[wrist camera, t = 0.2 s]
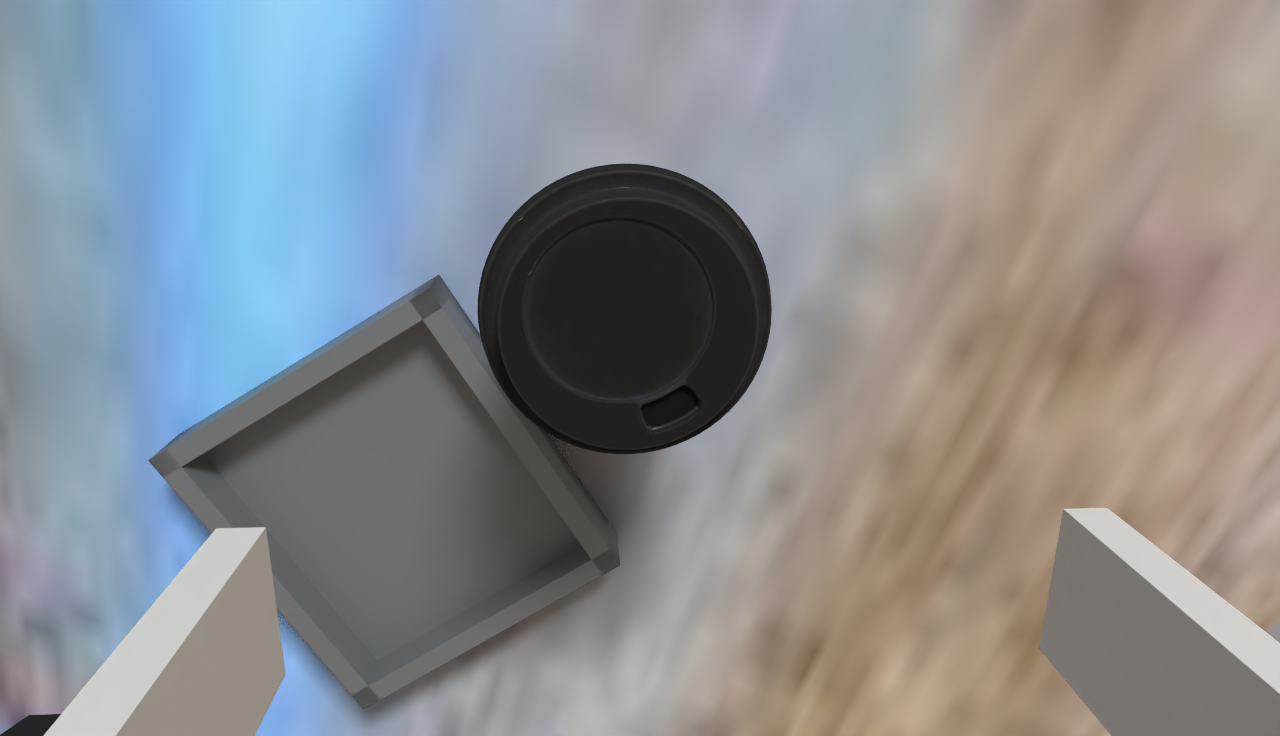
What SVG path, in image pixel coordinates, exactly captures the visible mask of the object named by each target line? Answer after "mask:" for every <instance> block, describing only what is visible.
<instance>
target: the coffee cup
mask: <svg viewBox="0 0 1280 736" xmlns="http://www.w3.org/2000/svg"><path fill="white" fill-rule="evenodd" d="M771 310H772V309H771V294H770V286H769V279H768V275H767V270H766V266H765V263H764V260H763V257H762V254H761V252H760V250H759V248H758V245H757V243H756V241H755V240H754V238H753V236H752V234H751V232H750V231H749V229H748V228H747V226H746V225H745V224H744V222H743V221H742V219H741V218H740V217H739V216H738V215H737V213H736V212H735V211H734V210H733V209H732V208H731V207H730V206H729V205H728V204H727V203H726V202H725V201H724V200H723V199H721V198H720V197H719V196H718V195H716V194H715V193H714V192H713V191H711V190H710V189H708V188H707V187H705V186H704V185H702V184H700V183H698V182H696V181H695V180H693V179H691V178H689V177H686V176H684V175H682V174H679V173H676V172H673V171H670V170H667V169H663V168H659V167H654V166H649V165H640V164H611V165H604V166H597V167H593V168H589V169H585V170H581V171H579V172H576V173H573V174H570V175H568V176H566V177H563V178H561V179H559V180H557V181H555V182H553V183H552V184H550V185H548V186H546V187H545V188H543V189H542V190H541V191H539V192H538V193H536V194H535V195H534V196H532V197H531V198H530V199H529V200H528V201H526V202H525V203H524V204H523V205H522V206H521V207H520V208H519V209H518V210H517V211H516V212H515V213H514V214H513V216H512V217H511V218H510V219H509V221H508V222H507V223H506V224H505V226H504V227H503V229H502V230H501V232H500V233H499V235H498V237H497V238H496V240H495V242H494V244H493V246H492V248H491V250H490V252H489V255H488V257H487V259H486V263H485V266H484V269H483V272H482V277H481V281H480V287H479V295H478V323H479V329H480V336H481V340H482V344H483V348H484V351H485V354H486V357H487V359H488V362H489V365H490V367H491V370H492V372H493V374H494V376H495V378H496V380H497V382H498V383H499V385H500V387H501V388H502V390H503V391H504V393H505V394H506V395H507V397H508V398H509V400H510V401H511V402H512V403H513V404H514V405H515V407H516V408H517V409H518V410H519V411H520V412H521V413H522V414H523V415H524V416H525V417H526V418H528V419H529V420H530V421H531V422H533V423H534V424H535V425H536V426H538V427H539V428H541V429H542V430H544V431H545V432H547V433H548V434H550V435H552V436H554V437H556V438H557V439H560V440H562V441H564V442H566V443H569V444H571V445H574V446H577V447H580V448H584V449H587V450H591V451H597V452H602V453H611V454H636V453H645V452H651V451H656V450H660V449H664V448H668V447H671V446H674V445H677V444H679V443H681V442H684V441H686V440H688V439H690V438H692V437H694V436H696V435H698V434H700V433H701V432H703V431H704V430H706V429H708V428H709V427H711V426H712V425H713V424H714V423H716V422H717V421H718V420H720V419H721V418H722V417H723V416H724V415H725V414H726V413H727V412H729V411H730V409H731V408H732V407H733V406H734V405H735V404H736V403H737V402H738V401H739V399H740V398H741V397H742V395H743V394H744V393H745V392H746V390H747V389H748V387H749V385H750V384H751V382H752V381H753V379H754V377H755V375H756V373H757V371H758V369H759V367H760V364H761V362H762V360H763V357H764V354H765V350H766V347H767V343H768V339H769V334H770V326H771Z"/></svg>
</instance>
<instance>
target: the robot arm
mask: <svg viewBox="0 0 1280 736" xmlns="http://www.w3.org/2000/svg"><path fill="white" fill-rule="evenodd" d="M1039 649H1040V650H1041V651H1042V653H1043V654H1044V655H1045V656H1046V657H1047V659H1048V660H1049V661H1050V662H1051V663H1052V665H1053V666H1054V667H1055V668H1056V669H1057V671H1058V672H1059V673H1060V674H1061V675H1062V677H1063V678H1064V679H1065V680H1066V681H1067V683H1068V684H1069V685H1070V686H1071V687H1072V689H1073V690H1074V691H1075V692H1076V693H1077V695H1078V696H1079V697H1080V698H1081V699H1082V701H1083V702H1084V703H1085V704H1086V705H1087V707H1088V708H1089V709H1090V710H1091V711H1092V713H1093V714H1094V715H1095V716H1096V717H1097V719H1098V720H1099V721H1100V722H1101V723H1102V725H1103V726H1104V727H1105V728H1106V730H1107V731H1108V732H1109V733H1110V734H1111V736H1280V643H1279V642H1277V641H1276V640H1275V639H1274V638H1273V637H1271V636H1270V635H1269V634H1267V633H1266V632H1265V631H1264V630H1262V629H1261V628H1260V627H1258V626H1257V625H1256V624H1255V623H1253V622H1252V621H1251V620H1250V619H1248V618H1247V617H1246V616H1244V615H1243V614H1242V613H1241V612H1239V611H1238V610H1237V609H1235V608H1234V607H1233V606H1232V605H1230V604H1229V603H1228V602H1227V601H1225V600H1224V599H1223V598H1221V597H1220V596H1219V595H1218V594H1216V593H1215V592H1214V591H1212V590H1211V589H1210V588H1209V587H1207V586H1206V585H1205V584H1204V583H1202V582H1201V581H1200V580H1198V579H1197V578H1196V577H1195V576H1193V575H1192V574H1191V573H1189V572H1188V571H1187V570H1186V569H1184V568H1183V567H1182V566H1181V565H1179V564H1178V563H1177V562H1175V561H1174V560H1173V559H1172V558H1170V557H1169V556H1168V555H1166V554H1165V553H1164V552H1163V551H1161V550H1160V549H1159V548H1158V547H1156V546H1155V545H1154V544H1152V543H1151V542H1150V541H1149V540H1147V539H1146V538H1145V537H1143V536H1142V535H1141V534H1140V533H1138V532H1137V531H1136V530H1135V529H1133V528H1132V527H1131V526H1129V525H1128V524H1127V523H1126V522H1124V521H1123V520H1122V519H1120V518H1119V517H1118V516H1117V515H1115V514H1114V513H1113V512H1112V511H1110V510H1109V509H1108V508H1083V509H1063V514H1062V520H1061V526H1060V532H1059V538H1058V543H1057V549H1056V555H1055V561H1054V566H1053V572H1052V578H1051V584H1050V589H1049V595H1048V601H1047V607H1046V613H1045V618H1044V624H1043V630H1042V636H1041V641H1040V647H1039ZM285 675H286V674H285V666H284V659H283V651H282V644H281V636H280V629H279V621H278V614H277V606H276V599H275V591H274V584H273V576H272V569H271V561H270V554H269V546H268V539H267V531H266V527H253V528H216V529H215V530H214V532H213V533H212V534H211V535H210V536H209V538H208V539H207V540H206V541H205V542H204V544H203V545H202V546H201V547H200V548H199V550H198V551H197V552H196V553H195V554H194V556H193V557H192V558H191V559H190V560H189V562H188V563H187V564H186V565H185V566H184V568H183V569H182V570H181V571H180V572H179V574H178V575H177V576H176V577H175V578H174V580H173V581H172V582H171V583H170V584H169V586H168V587H167V588H166V589H165V590H164V592H163V593H162V594H161V595H160V596H159V598H158V599H157V600H156V601H155V602H154V604H153V605H152V606H151V607H150V608H149V610H148V611H147V612H146V613H145V614H144V616H143V617H142V618H141V619H140V620H139V622H138V623H137V624H136V625H135V626H134V628H133V629H132V630H131V631H130V632H129V634H128V635H127V636H126V637H125V638H124V640H123V641H122V642H121V643H120V644H119V646H118V647H117V648H116V649H115V650H114V652H113V653H112V654H111V655H110V656H109V658H108V659H107V660H106V661H105V662H104V664H103V665H102V666H101V667H100V668H99V670H98V671H97V672H96V673H95V674H94V676H93V677H92V678H91V679H90V680H89V682H88V683H87V684H86V685H85V686H84V688H83V689H82V690H81V691H80V692H79V694H78V695H77V696H76V697H75V698H74V700H73V701H72V702H71V703H70V704H69V706H68V707H67V708H66V709H65V710H64V712H63V713H62V714H52V715H29V716H27V717H26V718H24V719H23V720H21V721H20V722H19V723H17V724H16V725H14V726H13V727H11V728H10V729H8V730H7V731H5V732H4V733H2V734H1V735H0V736H255V734H256V732H257V730H258V728H259V726H260V724H261V722H262V720H263V718H264V716H265V714H266V712H267V710H268V708H269V706H270V704H271V702H272V700H273V698H274V696H275V694H276V692H277V690H278V688H279V686H280V684H281V682H282V680H283V679H284V677H285Z"/></svg>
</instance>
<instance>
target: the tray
mask: <svg viewBox="0 0 1280 736" xmlns="http://www.w3.org/2000/svg"><path fill="white" fill-rule="evenodd" d="M148 461H149V462H150V463H151V464H152V465H153V467H154V468H155V469H156V470H157V471H158V472H159V474H160V475H161V476H162V477H163V478H164V479H165V480H166V482H167V483H168V484H169V485H170V486H171V487H172V489H173V490H174V491H175V492H176V493H177V494H178V495H179V497H180V498H181V499H182V500H183V501H184V502H185V504H186V505H187V506H188V507H189V508H190V509H191V510H192V512H193V513H194V514H195V515H196V516H197V517H198V519H199V520H200V521H201V522H202V523H203V524H204V525H205V527H206V528H207V529H208V530H209V531H210V532H211V534H212V533H213V532H214V530H215V529H216V528H253V527H266V531H267V539H268V546H269V554H270V561H271V569H272V576H273V584H274V591H275V599H276V606H277V610H278V611H279V612H280V613H281V614H282V615H283V617H284V618H285V619H286V620H287V621H288V622H289V624H290V625H291V626H292V627H293V628H294V629H295V630H296V632H297V633H298V634H299V635H300V636H301V637H302V639H303V640H304V641H305V642H306V643H307V644H308V645H309V647H310V648H311V649H312V650H313V651H314V652H315V653H316V655H317V656H318V657H319V658H320V659H321V660H322V662H323V663H324V664H325V665H326V666H327V667H328V668H329V670H330V671H331V672H332V673H333V674H334V675H335V677H336V678H337V679H338V680H339V681H340V682H341V683H342V685H343V686H344V687H345V688H346V689H347V690H348V692H349V693H350V694H351V695H352V696H353V697H354V698H355V700H356V701H357V702H358V703H359V704H360V705H361V707H362V708H363V709H365V708H367V707H368V706H370V705H372V704H374V703H376V702H377V701H379V700H381V699H383V698H384V697H386V696H388V695H390V694H392V693H393V692H395V691H397V690H399V689H400V688H402V687H404V686H406V685H408V684H409V683H411V682H413V681H415V680H416V679H418V678H420V677H422V676H424V675H425V674H427V673H429V672H431V671H432V670H434V669H436V668H438V667H440V666H441V665H443V664H445V663H447V662H448V661H450V660H452V659H454V658H456V657H457V656H459V655H461V654H463V653H465V652H466V651H468V650H470V649H472V648H473V647H475V646H477V645H479V644H481V643H482V642H484V641H486V640H488V639H489V638H491V637H493V636H495V635H497V634H498V633H500V632H502V631H504V630H505V629H507V628H509V627H511V626H513V625H514V624H516V623H518V622H520V621H521V620H523V619H525V618H527V617H529V616H530V615H532V614H534V613H536V612H537V611H539V610H541V609H543V608H545V607H546V606H548V605H550V604H552V603H554V602H555V601H557V600H559V599H561V598H562V597H564V596H566V595H568V594H570V593H571V592H573V591H575V590H577V589H578V588H580V587H582V586H584V585H586V584H587V583H589V582H591V581H593V580H594V579H596V578H598V577H600V576H602V575H603V574H605V573H607V572H609V571H610V570H612V569H614V568H616V567H618V566H619V565H620V559H619V548H618V537H617V534H616V532H615V531H614V529H613V528H612V527H611V525H610V524H609V522H608V521H607V519H606V518H605V516H604V515H603V513H602V512H601V510H600V509H599V508H598V506H597V505H596V503H595V502H594V500H593V499H592V497H591V496H590V494H589V493H588V491H587V490H586V489H585V487H584V486H583V484H582V483H581V481H580V480H579V478H578V477H577V475H576V474H575V472H574V471H573V470H572V468H571V467H570V465H569V464H568V462H567V461H566V459H565V458H564V456H563V455H562V454H561V452H560V451H559V449H558V448H557V446H556V445H555V443H554V442H553V440H552V439H551V437H550V436H549V435H548V433H547V432H545V431H544V430H542V429H541V428H539V427H538V426H536V425H535V424H534V423H533V422H531V421H530V420H529V419H528V418H526V417H525V416H524V415H523V414H522V413H521V412H520V411H519V410H518V409H517V408H516V407H515V405H514V404H513V403H512V402H511V401H510V400H509V398H508V397H507V395H506V394H505V393H504V391H503V390H502V388H501V387H500V385H499V383H498V382H497V380H496V378H495V376H494V374H493V372H492V370H491V367H490V365H489V362H488V359H487V357H486V354H485V351H484V348H483V344H482V340H481V336H480V334H479V332H478V331H477V329H476V328H475V326H474V325H473V324H472V322H471V321H470V319H469V318H468V316H467V315H466V313H465V312H464V310H463V309H462V307H461V306H460V305H459V303H458V302H457V300H456V299H455V297H454V296H453V294H452V293H451V291H450V290H449V289H448V287H447V286H446V284H445V283H444V281H443V280H442V278H441V277H440V275H438V276H436V277H435V278H433V279H431V280H430V281H428V282H426V283H425V284H423V285H422V286H420V287H418V288H417V289H415V290H413V291H412V292H410V293H408V294H407V295H405V296H404V297H402V298H400V299H399V300H397V301H395V302H394V303H392V304H391V305H389V306H387V307H386V308H384V309H382V310H381V311H379V312H378V313H376V314H374V315H373V316H371V317H369V318H368V319H366V320H365V321H363V322H361V323H360V324H358V325H356V326H355V327H353V328H352V329H350V330H348V331H347V332H345V333H343V334H342V335H340V336H339V337H337V338H335V339H334V340H332V341H330V342H329V343H327V344H326V345H324V346H322V347H321V348H319V349H317V350H316V351H314V352H313V353H311V354H309V355H308V356H306V357H304V358H303V359H301V360H300V361H298V362H296V363H295V364H293V365H291V366H290V367H288V368H287V369H285V370H283V371H282V372H280V373H278V374H277V375H275V376H273V377H272V378H270V379H269V380H267V381H265V382H264V383H262V384H260V385H259V386H257V387H256V388H254V389H252V390H251V391H249V392H247V393H246V394H244V395H243V396H241V397H239V398H238V399H236V400H234V401H233V402H231V403H230V404H228V405H226V406H225V407H223V408H221V409H220V410H218V411H217V412H215V413H213V414H212V415H210V416H208V417H207V418H205V419H204V420H202V421H200V422H199V423H197V424H195V425H194V426H192V427H191V428H189V429H187V430H186V431H184V432H182V433H181V434H179V435H178V436H176V437H175V438H174V439H173V440H172V441H171V442H169V443H168V444H167V445H166V446H165V447H164V448H162V449H161V450H160V451H159V452H158V453H157V454H155V455H154V456H153V457H152V458H151V459H150V460H148Z"/></svg>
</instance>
